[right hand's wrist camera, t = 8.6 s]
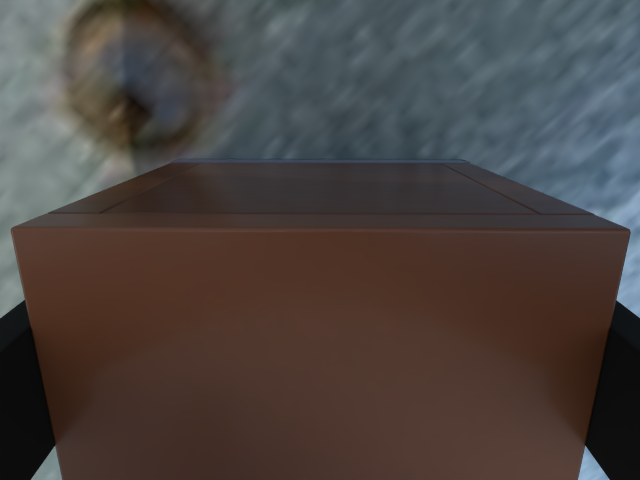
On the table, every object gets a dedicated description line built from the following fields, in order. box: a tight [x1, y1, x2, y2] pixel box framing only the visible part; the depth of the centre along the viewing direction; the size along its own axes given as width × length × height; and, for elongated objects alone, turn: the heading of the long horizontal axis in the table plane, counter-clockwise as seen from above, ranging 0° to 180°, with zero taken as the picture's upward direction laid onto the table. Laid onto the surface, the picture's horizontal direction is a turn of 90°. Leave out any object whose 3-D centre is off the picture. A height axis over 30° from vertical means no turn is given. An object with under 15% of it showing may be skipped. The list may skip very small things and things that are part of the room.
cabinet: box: [11, 159, 630, 480], centre depth 15 cm, size 17×11×10 cm, turn 0°
